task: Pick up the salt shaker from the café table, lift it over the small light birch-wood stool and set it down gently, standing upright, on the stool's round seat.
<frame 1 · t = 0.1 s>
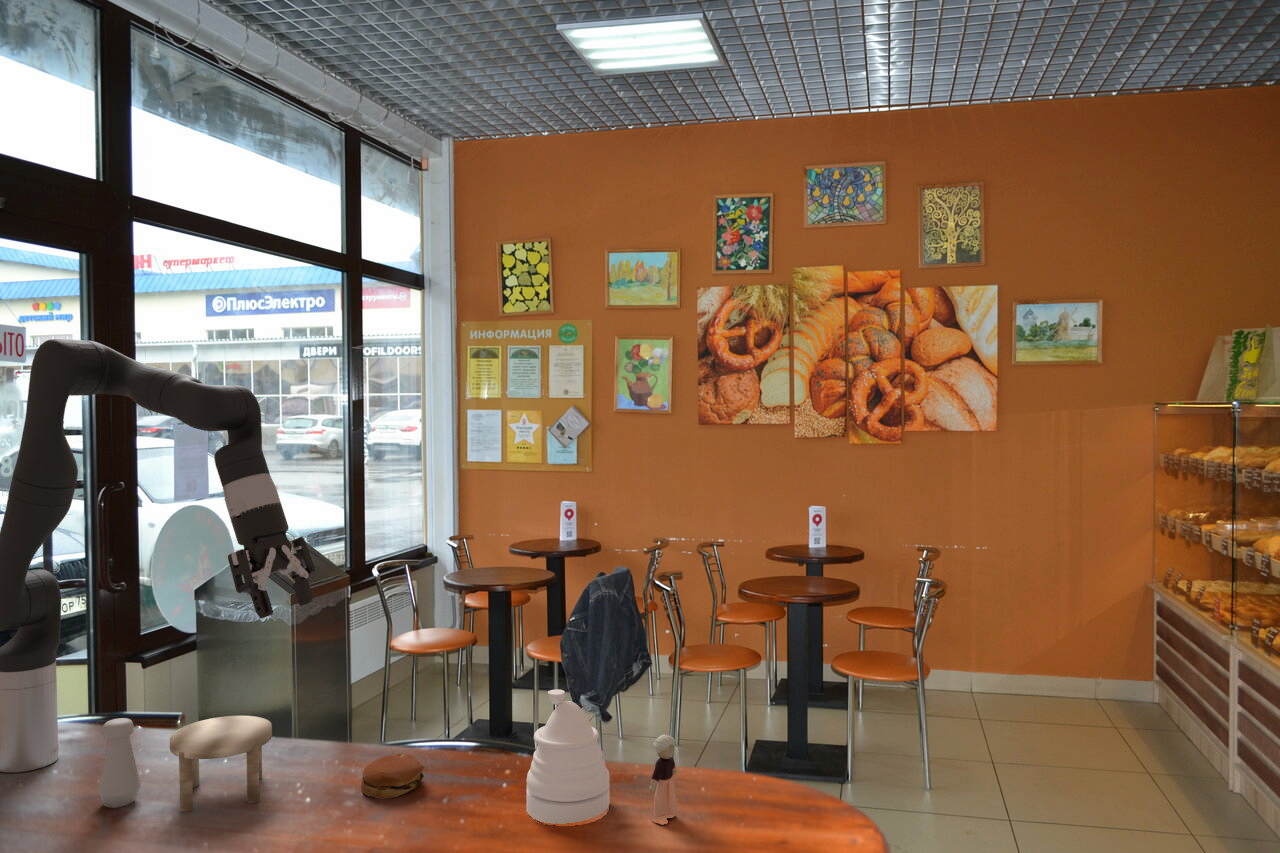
hand: (287, 610, 146), 31 cm above the table, tool tilted 20°, fingers open, 8 cm apart
stool: (222, 792, 155), on the table
honey pot: (568, 809, 150), on the table
grandmother figurine: (665, 818, 146), on the table
salt shaker: (119, 803, 152), on the table
burger: (392, 789, 158), on the table
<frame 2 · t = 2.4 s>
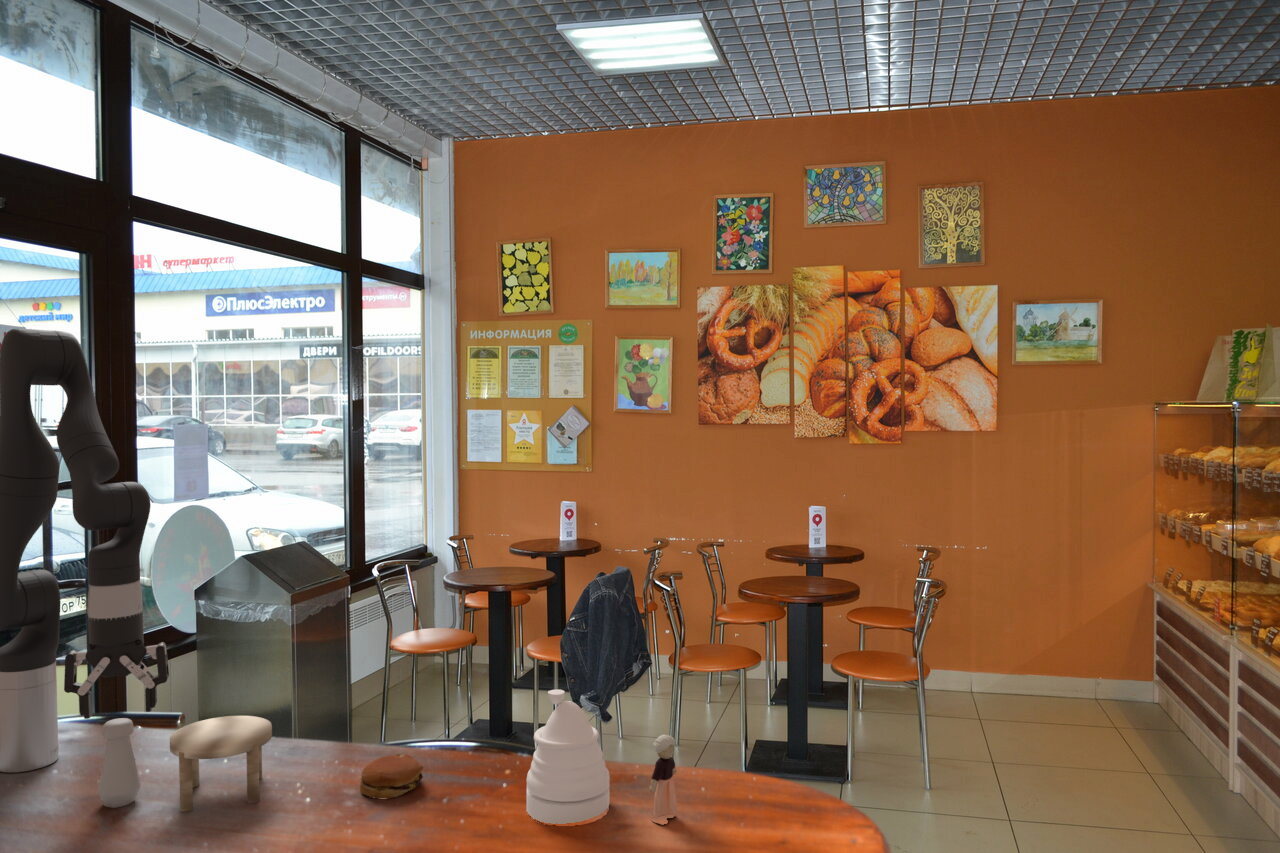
hand: (118, 713, 151), 14 cm above the table, tool pointing down, fingers open, 8 cm apart
nothing on the table moved.
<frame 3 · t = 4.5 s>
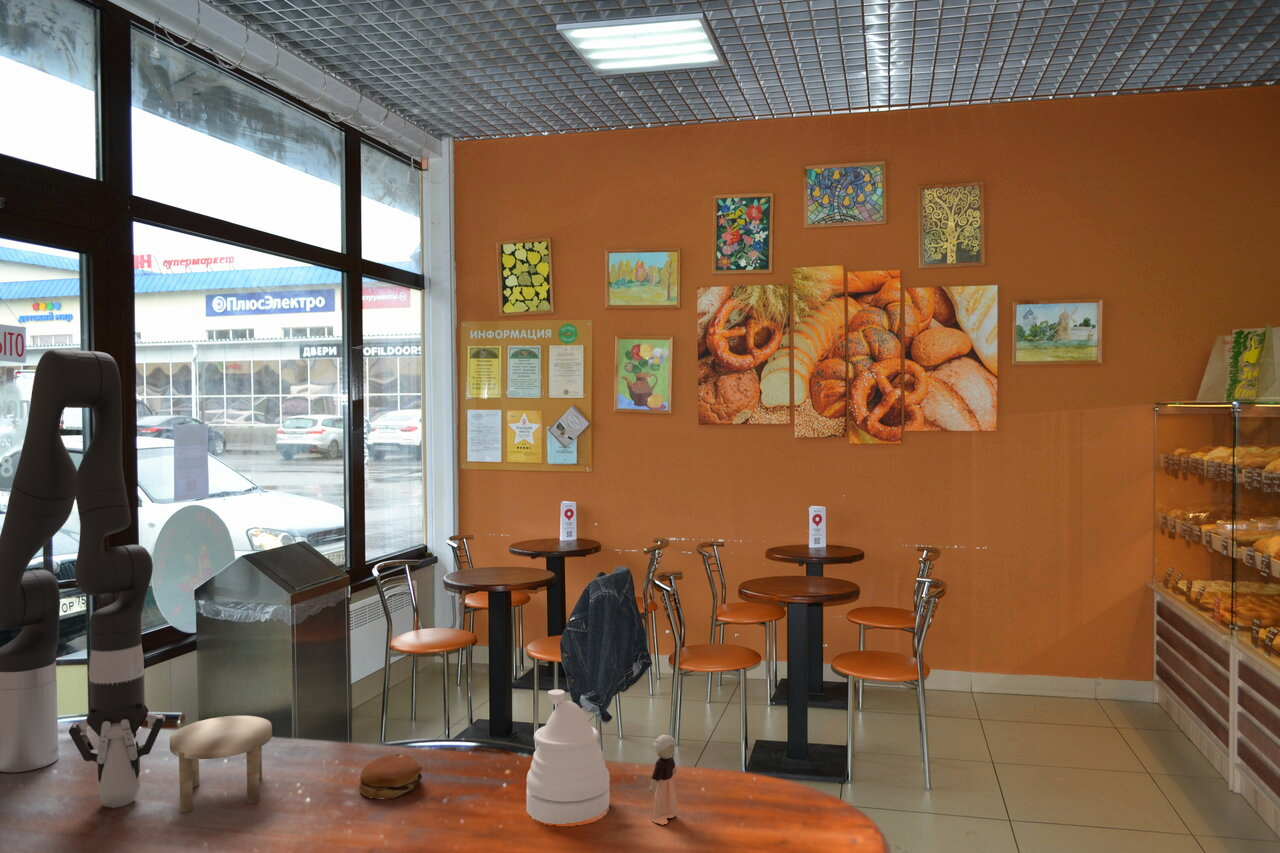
hand: (119, 782, 152), 3 cm above the table, tool pointing down, fingers closed on salt shaker, 3 cm apart
salt shaker: (119, 803, 152), on the table, touching gripper
everything else where it was.
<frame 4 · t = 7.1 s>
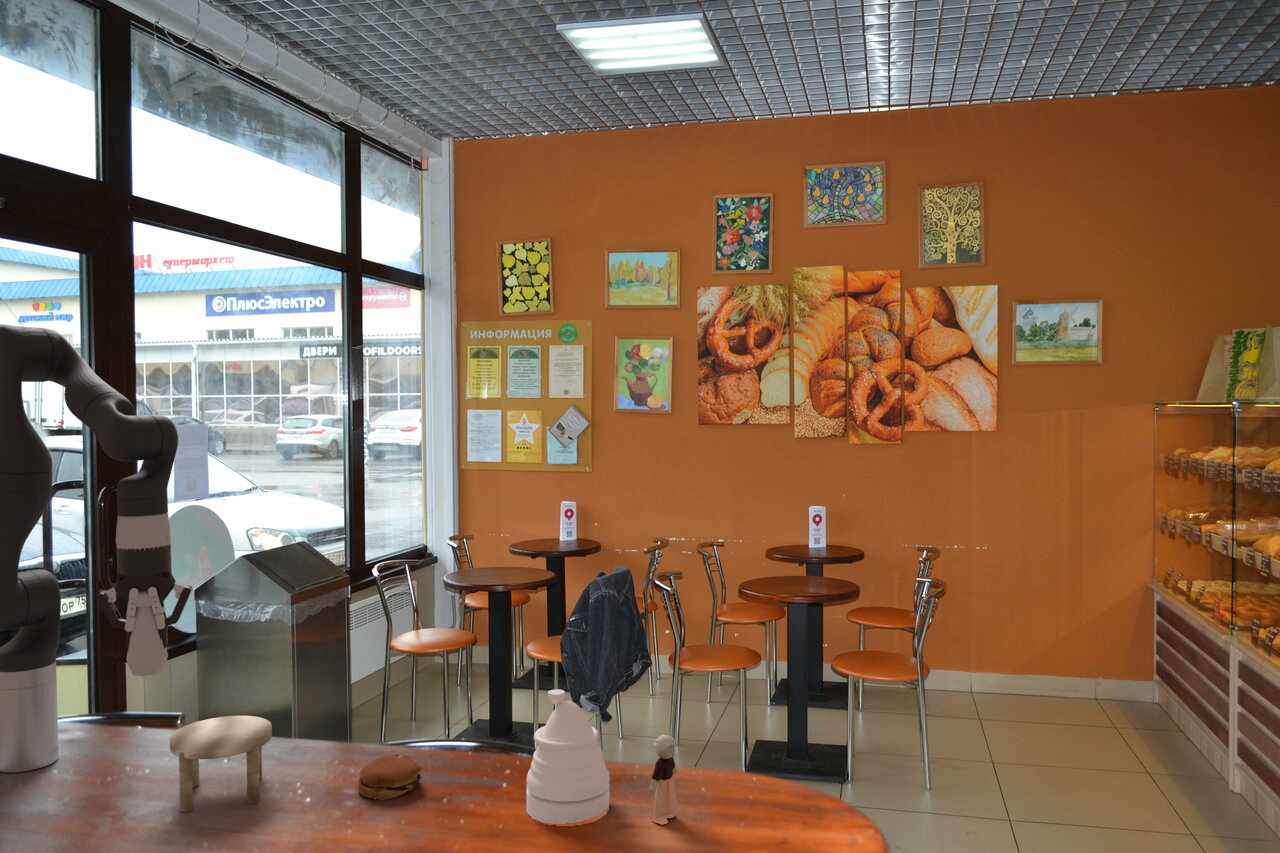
hand: (147, 652, 152), 24 cm above the table, tool pointing down, fingers closed on salt shaker, 3 cm apart
salt shaker: (147, 673, 152), point 20 cm above the table, touching gripper
everything else where it was.
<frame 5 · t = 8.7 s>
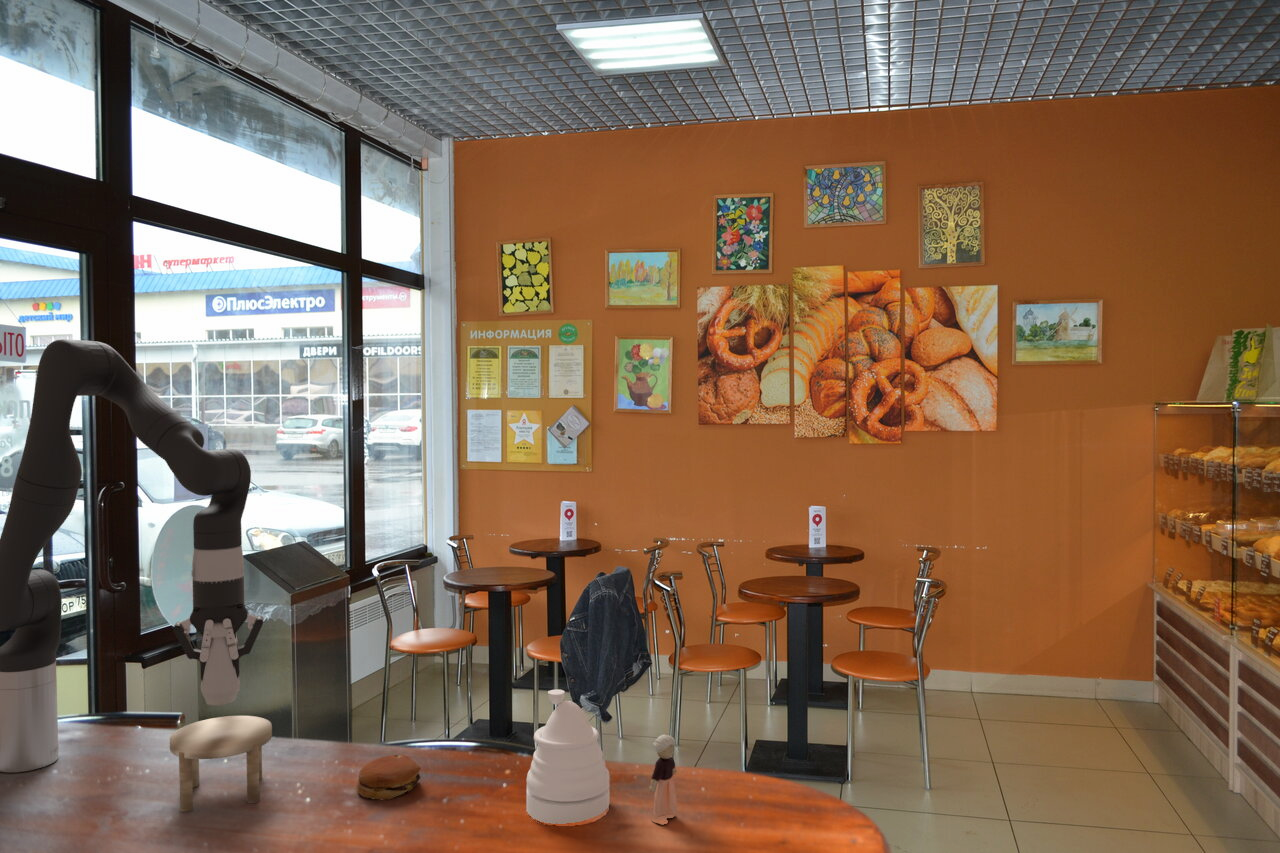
hand: (220, 681, 155), 18 cm above the table, tool pointing down, fingers closed on salt shaker, 3 cm apart
salt shaker: (220, 702, 155), point 15 cm above the table, touching gripper
everything else where it was.
when the fingers open (14 cm above the table, at t = 10.0 s): salt shaker drops 1 cm, resting on stool.
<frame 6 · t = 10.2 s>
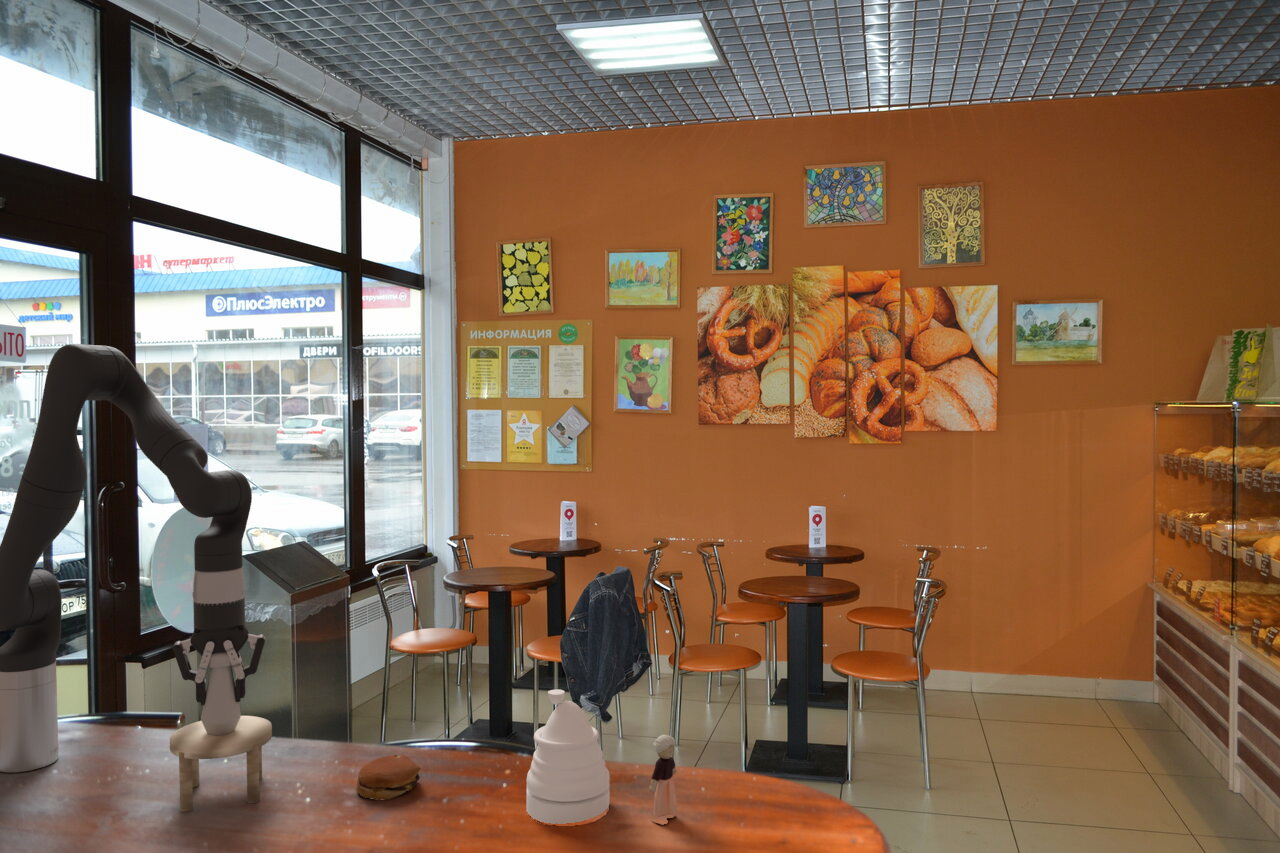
hand: (221, 701, 155), 15 cm above the table, tool pointing down, fingers open, 4 cm apart
salt shaker: (220, 732, 155), point 10 cm above the table, touching stool
everything else where it was.
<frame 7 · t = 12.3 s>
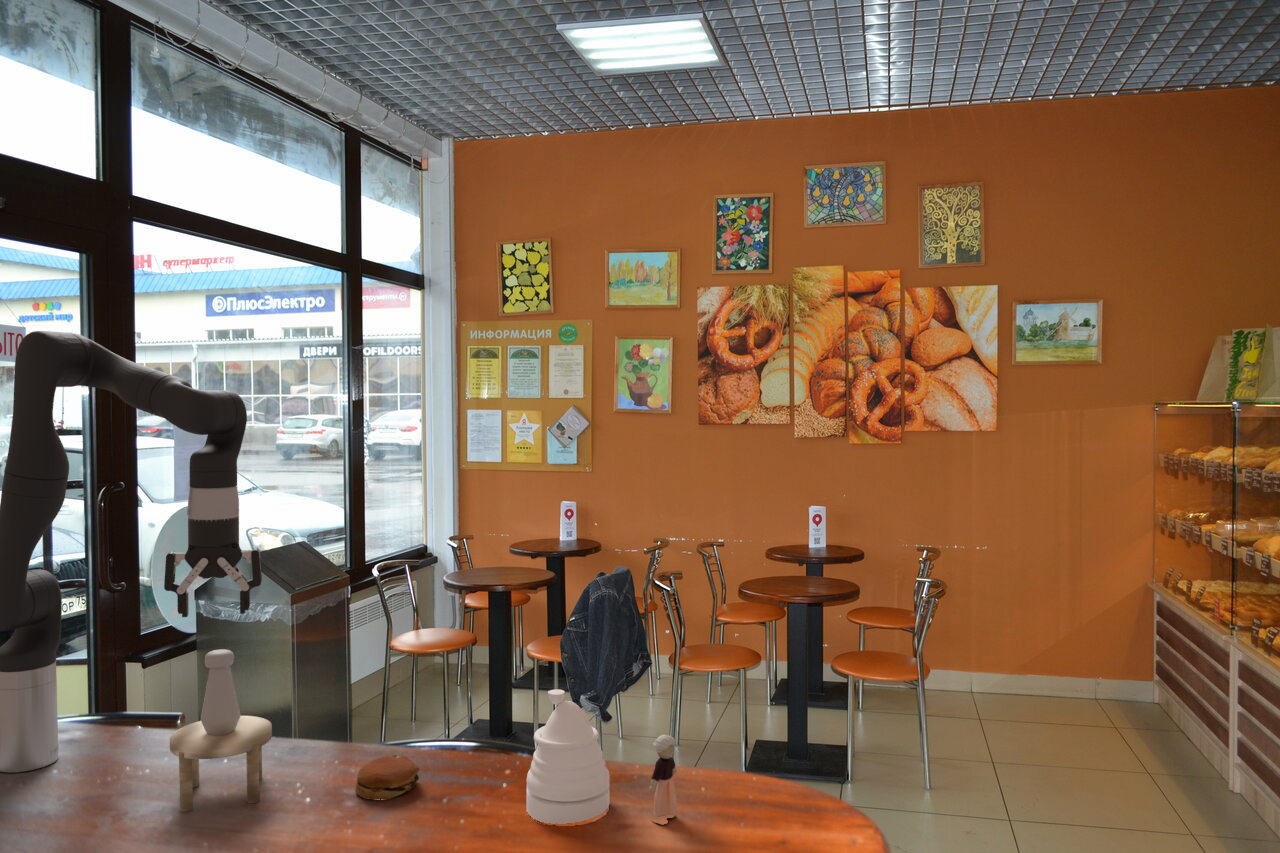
hand: (214, 614, 156), 28 cm above the table, tool pointing down, fingers open, 8 cm apart
nothing on the table moved.
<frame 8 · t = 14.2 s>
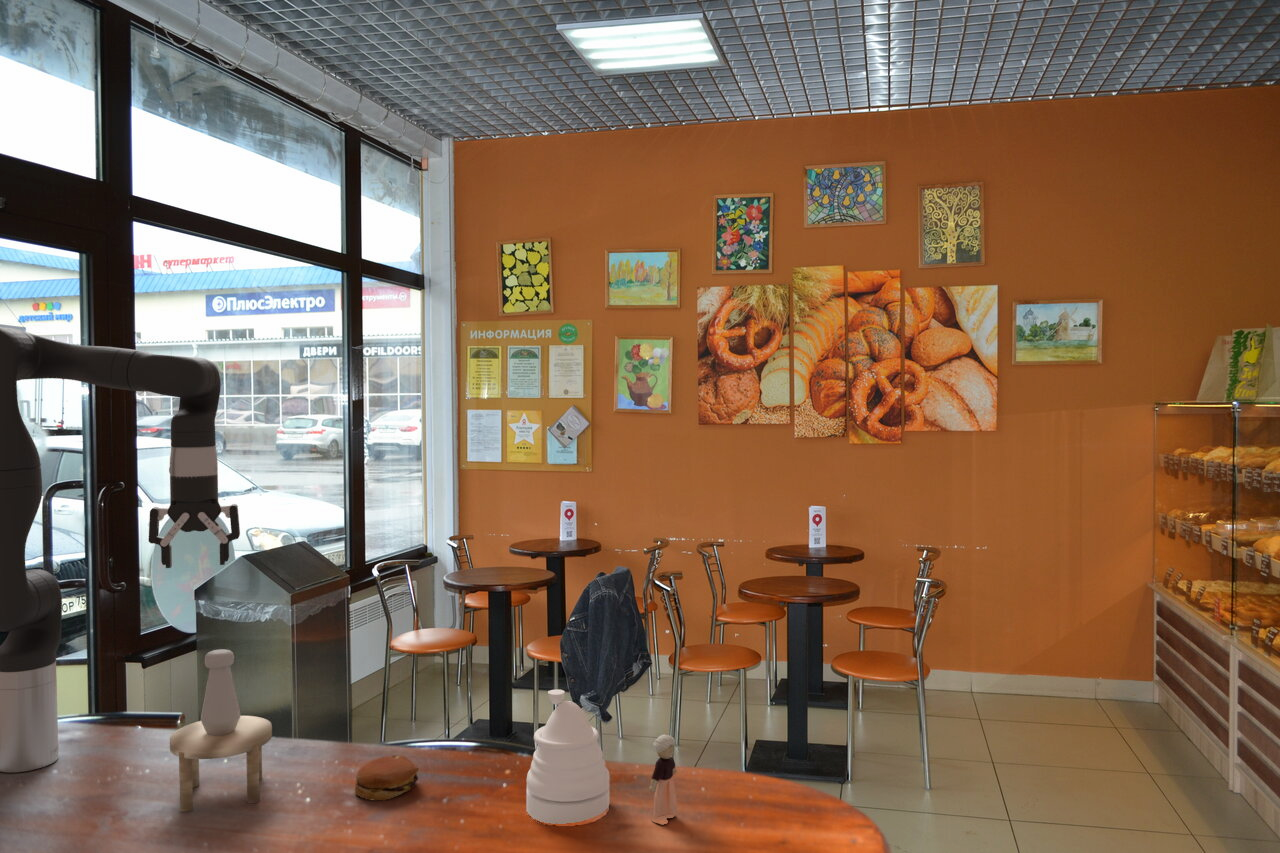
hand: (195, 565, 168), 34 cm above the table, tool pointing down, fingers open, 8 cm apart
at the end: salt shaker inside the target area on the stool (0.1 cm from its centre), point 9.8 cm above the stool's base; salt shaker tilted 0°; the gripper is holding nothing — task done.
